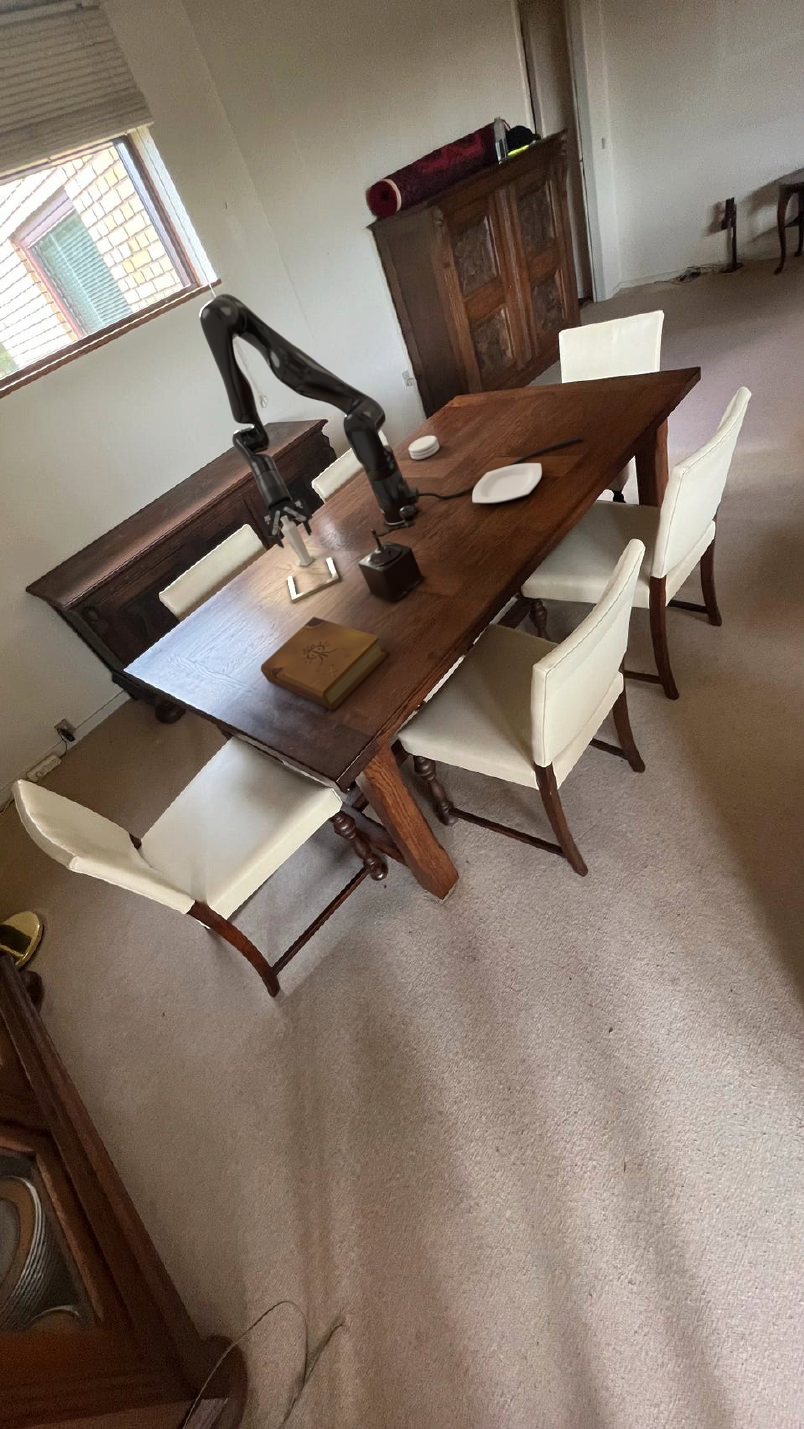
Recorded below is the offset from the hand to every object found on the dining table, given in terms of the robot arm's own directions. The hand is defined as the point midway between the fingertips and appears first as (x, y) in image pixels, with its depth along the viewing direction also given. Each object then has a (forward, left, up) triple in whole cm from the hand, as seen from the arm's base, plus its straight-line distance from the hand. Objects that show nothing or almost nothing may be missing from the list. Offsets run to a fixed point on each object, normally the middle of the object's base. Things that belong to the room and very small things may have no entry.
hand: (296, 540), depth 179 cm
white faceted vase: (0, -1, -8) cm, 8 cm away
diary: (-19, +51, -8) cm, 55 cm away
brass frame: (-4, +10, -8) cm, 13 cm away
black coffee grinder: (-34, +21, -8) cm, 40 cm away
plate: (-60, -13, -8) cm, 62 cm away
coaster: (-31, -54, -8) cm, 63 cm away
